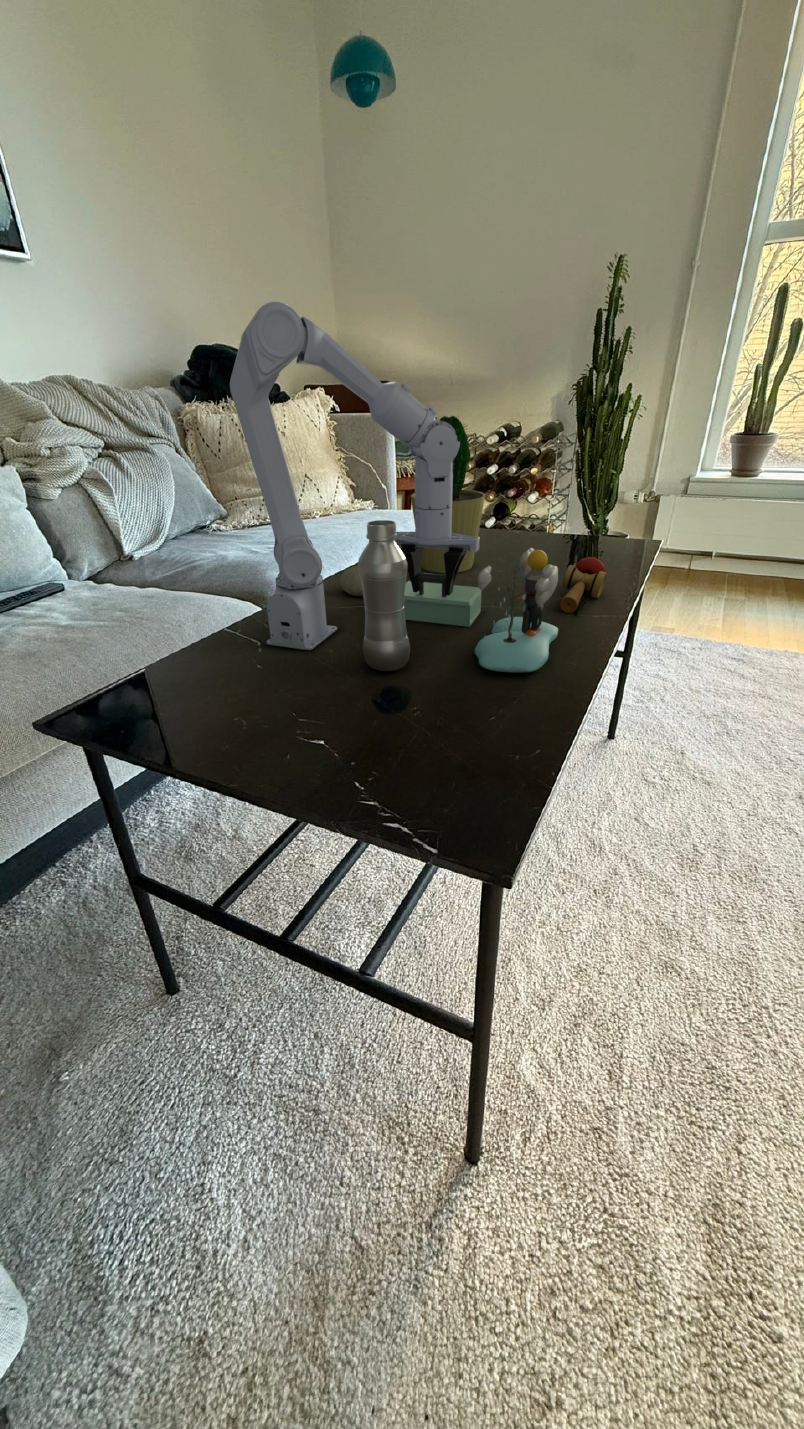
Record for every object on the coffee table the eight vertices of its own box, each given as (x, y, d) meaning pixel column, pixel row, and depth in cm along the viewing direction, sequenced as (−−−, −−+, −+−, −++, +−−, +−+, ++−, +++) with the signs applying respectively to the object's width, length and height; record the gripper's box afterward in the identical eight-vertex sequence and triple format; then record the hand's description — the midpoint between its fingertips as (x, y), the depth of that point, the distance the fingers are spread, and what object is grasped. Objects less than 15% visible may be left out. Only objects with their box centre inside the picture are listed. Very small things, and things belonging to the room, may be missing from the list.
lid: (469, 606, 96) (470, 580, 94) (392, 598, 100) (391, 573, 98) (481, 591, 102) (482, 566, 100) (408, 584, 106) (407, 560, 104)
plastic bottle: (405, 678, 82) (402, 529, 72) (358, 675, 83) (348, 528, 73) (414, 659, 87) (412, 518, 77) (369, 656, 88) (362, 517, 79)
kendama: (594, 623, 102) (614, 580, 114) (591, 589, 98) (612, 549, 111) (549, 624, 106) (574, 583, 118) (545, 591, 102) (571, 552, 115)
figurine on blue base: (501, 624, 99) (507, 531, 91) (566, 633, 95) (578, 536, 87) (460, 672, 83) (464, 564, 76) (536, 685, 79) (548, 572, 72)
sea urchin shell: (392, 588, 110) (360, 558, 108) (364, 617, 113) (332, 589, 111) (394, 574, 118) (364, 546, 116) (367, 601, 121) (337, 574, 119)
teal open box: (469, 627, 98) (470, 605, 96) (393, 618, 102) (393, 597, 100) (480, 612, 104) (481, 591, 102) (408, 604, 108) (408, 585, 106)
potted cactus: (493, 561, 132) (502, 410, 118) (462, 579, 121) (467, 414, 106) (433, 553, 140) (434, 410, 125) (398, 569, 128) (394, 414, 114)
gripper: (485, 503, 93) (481, 588, 99) (398, 500, 97) (400, 581, 104) (474, 512, 87) (470, 602, 94) (382, 508, 91) (385, 593, 98)
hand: (433, 592), depth 98 cm, fingers closed on lid, 5 cm apart
